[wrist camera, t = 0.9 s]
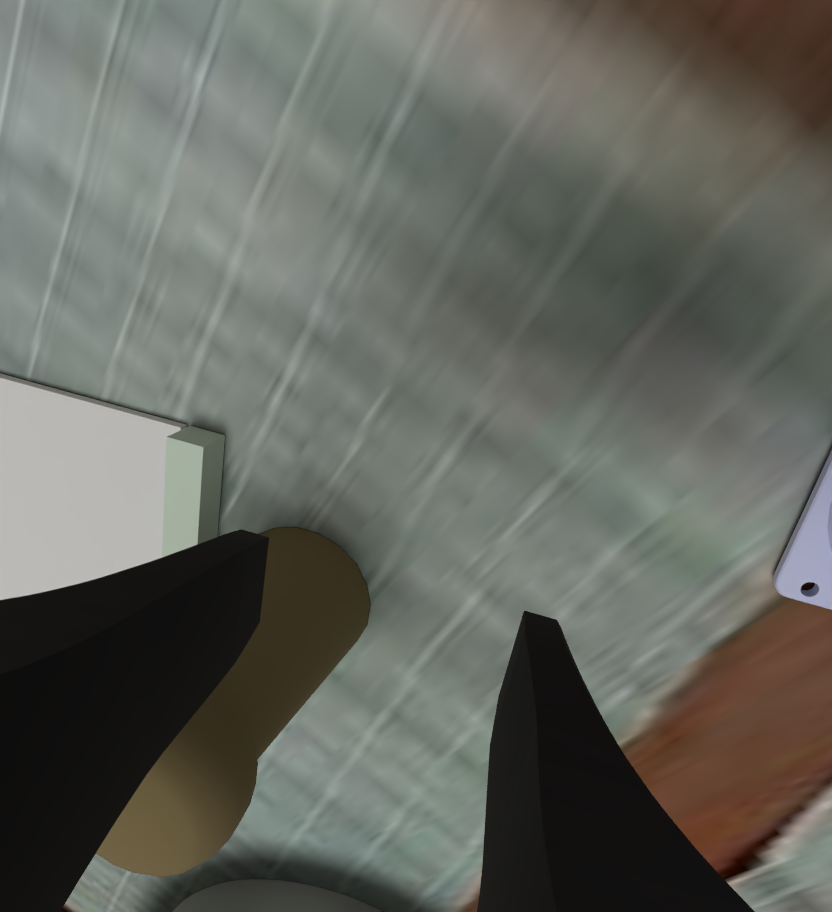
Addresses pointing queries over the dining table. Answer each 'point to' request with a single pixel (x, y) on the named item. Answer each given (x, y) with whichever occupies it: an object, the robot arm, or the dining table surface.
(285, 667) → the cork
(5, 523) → the mat
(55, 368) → the dining table surface
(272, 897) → the cake pan
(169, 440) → the kerb
